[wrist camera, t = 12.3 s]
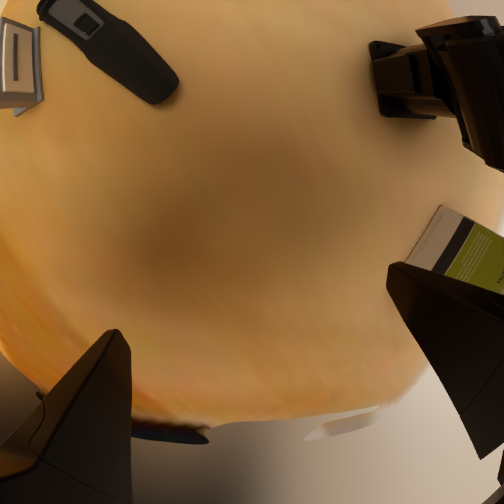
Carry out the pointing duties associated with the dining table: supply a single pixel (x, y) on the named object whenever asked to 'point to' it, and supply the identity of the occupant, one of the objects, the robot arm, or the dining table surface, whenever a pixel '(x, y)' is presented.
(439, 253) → the tea box
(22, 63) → the gray angled bracket
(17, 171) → the dining table surface
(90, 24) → the electric trimmer
